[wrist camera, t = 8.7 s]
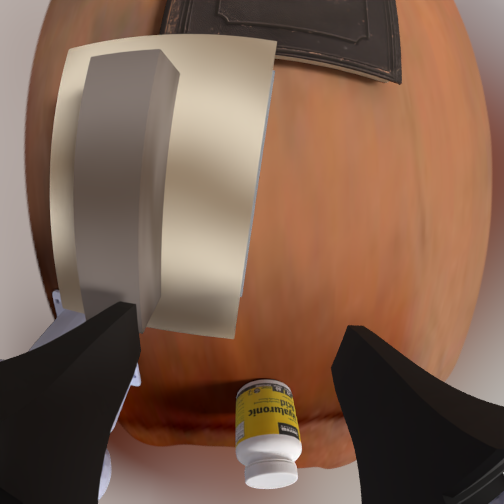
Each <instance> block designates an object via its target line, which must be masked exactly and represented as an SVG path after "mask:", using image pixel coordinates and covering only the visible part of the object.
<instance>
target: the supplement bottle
mask: <svg viewBox="0 0 504 504" xmlns="http://www.w3.org/2000/svg"><path fill="white" fill-rule="evenodd" d="M301 451H302V445H301V439H300V434H299V428H298V423H297V418H296V413H295V407H294V402H293V396H292V393H291V390H290V389H289V387H288V386H287V385H285V384H284V383H282V382H279V381H276V380H269V379H264V380H256V381H253V382H250V383H248V384H246V385H244V386H243V387H242V388H241V389H240V390H239V392H238V393H237V397H236V456H237V459H238V460H239V461H240V462H241V463H242V464H243V465H245V466H246V467H245V483H246V484H247V485H248V486H250V487H253V488H258V489H274V488H281V487H285V486H288V485H291V484H293V483H294V482H296V481H297V479H298V474H297V467H296V464H295V462H294V461H295V460H297V458H298V457H299V456H300V454H301Z"/></svg>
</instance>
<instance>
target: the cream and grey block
mask: <svg viewBox="0 0 504 504" xmlns="http://www.w3.org/2000/svg"><path fill="white" fill-rule="evenodd" d="M276 46H277V41H271V40H265V39H257V38H249V37H240V36H228V35H211V34H168V35H152V36H140V37H131V38H123V39H116V40H110V41H104V42H99V43H94V44H89V45H84V46H80V47H76V48H72V49H69V51H68V55H67V58H66V62H65V66H64V70H63V74H62V79H61V83H60V88H59V93H58V99H57V105H56V111H55V118H54V126H53V135H52V145H51V160H50V218H51V233H52V244H53V253H54V261H55V268H56V275H57V281H58V287H59V292H60V297H61V302H62V307H63V308H64V309H68V310H71V311H75V312H79V313H83V314H85V318H86V321H87V320H89V319H90V318H92V317H94V316H95V315H97V314H99V313H100V312H102V311H103V310H105V309H107V308H108V307H110V306H112V305H113V304H115V303H117V302H119V301H122V302H127V303H133V304H136V308H137V320H138V330H139V333H143V332H144V330H145V328H146V327H150V328H156V329H162V330H168V331H175V332H181V333H188V334H196V335H203V336H211V337H220V338H229V339H234V335H235V328H236V321H237V313H238V306H239V299H240V292H241V285H242V277H243V270H244V263H245V256H246V249H247V242H248V235H249V228H250V221H251V214H252V207H253V200H254V193H255V186H256V179H257V172H258V165H259V158H260V152H261V145H262V138H263V131H264V125H265V118H266V111H267V105H268V98H269V91H270V85H271V78H272V72H273V65H274V59H275V52H276Z"/></svg>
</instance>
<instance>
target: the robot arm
mask: <svg viewBox="0 0 504 504" xmlns="http://www.w3.org/2000/svg"><path fill="white" fill-rule="evenodd" d="M52 295H53V300H54V305H55V309H56V313H57V318H56V319H55V321H54V322H53V323H52V324H51V325H50V326H49V327H48V328H47V330H46V331H45V332H44V333H43V334H42V335H41V336H40V338H39V339H38V340H37V341H36V342H35V344H34V345H33V346H32V347H31V349H30V350H29V351H28V352H26V353H24V354H21V355H19V356H16V357H13V358H10V359H7V360H2V359H0V504H98V500H99V499H100V498H101V497H102V496H103V494H104V492H105V491H106V489H107V487H108V484H109V481H110V477H111V460H110V455H109V452H108V450H107V444H108V439H109V435H110V433H111V432H112V430H113V429H114V427H115V425H116V422H117V419H118V416H119V414H120V411H121V408H122V405H123V403H124V400H125V398H126V395H127V392H128V390H129V387H130V385H134V386H140V384H141V379H140V374H139V368H138V359H139V356H140V352H141V347H140V339H139V330H138V320H137V308H136V304H133V303H127V302H122V301H119V302H117V303H115V304H113V305H112V306H110V307H108V308H107V309H105V310H103V311H102V312H100V313H99V314H97V315H95V316H94V317H92V318H90V319H89V320H87V321H86V318H85V314H83V313H79V312H75V311H71V310H68V309H64V308H63V307H62V302H61V297H60V292H59V290H55V291H53V293H52ZM58 300H59V301H58ZM331 370H332V376H333V382H334V386H335V391H336V394H337V397H338V400H339V403H340V406H341V409H342V412H343V415H344V418H345V420H346V423H347V426H348V429H349V432H350V435H351V438H352V441H353V445H354V449H355V453H356V459H357V464H358V470H359V478H360V485H361V497H362V504H504V474H503V472H504V407H503V406H499V405H496V404H493V403H489V402H486V401H484V400H480V399H478V398H476V397H473V396H471V395H468V394H466V393H464V392H462V391H460V390H457V389H456V388H454V387H451V386H450V385H448V384H446V383H445V382H443V381H441V380H439V379H438V378H436V377H434V376H433V375H431V374H430V373H428V372H427V371H425V370H424V369H422V368H421V367H419V366H418V365H416V364H415V363H413V362H412V361H411V360H409V359H408V358H407V357H405V356H404V355H403V354H401V353H400V352H399V351H397V350H396V349H395V348H393V347H392V346H391V345H389V344H388V343H387V342H385V341H384V340H383V339H381V338H380V337H379V336H377V335H376V334H375V333H373V332H372V331H370V330H369V329H367V328H366V327H364V326H353V325H348V326H347V329H346V332H345V334H344V337H343V340H342V342H341V345H340V347H339V350H338V352H337V355H336V357H335V360H334V362H333V364H332V367H331Z"/></svg>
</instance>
